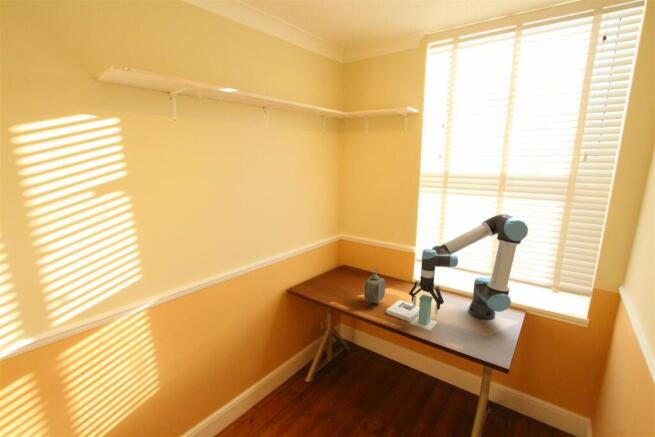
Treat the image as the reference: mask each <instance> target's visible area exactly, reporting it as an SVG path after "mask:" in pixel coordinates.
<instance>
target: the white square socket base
mask: <svg viewBox="0 0 655 437" xmlns="http://www.w3.org/2000/svg"><path fill="white" fill-rule="evenodd" d="M419 307H420V305H417V304H416V306H415V307H414V308H413V303H412V302H411V303H410V302H407V301H404V300H400V299H399V300H397V301H396V302H395V303H393V304H392V305H391V306H390V307H388V308H387V309H386V310H385V314H387V315H389V316H393V317H396V318H398V319H402V320H403V321H407V322H410V323H411V322H412V321H413V320H414V319H415V318H416V317H417V316H419Z"/></svg>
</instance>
